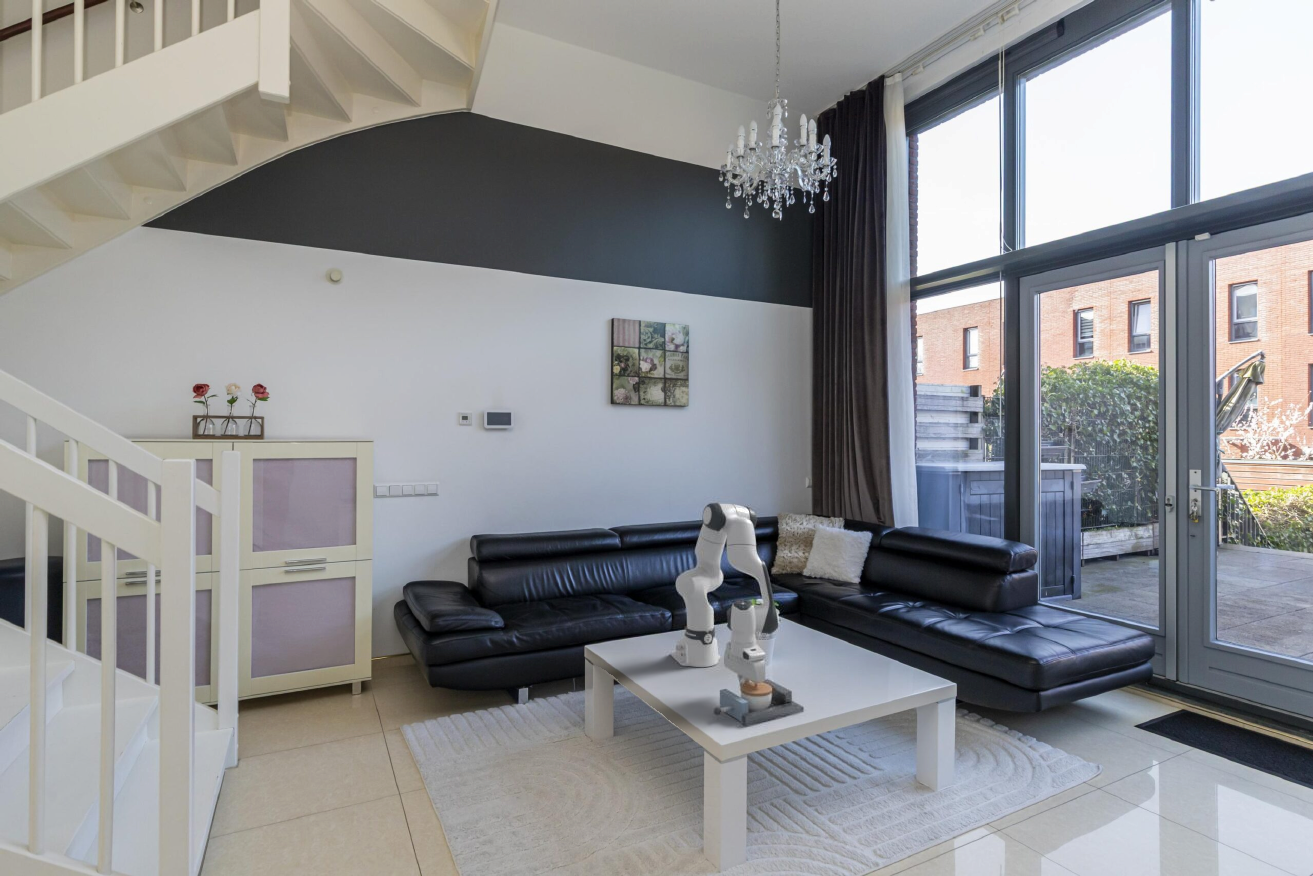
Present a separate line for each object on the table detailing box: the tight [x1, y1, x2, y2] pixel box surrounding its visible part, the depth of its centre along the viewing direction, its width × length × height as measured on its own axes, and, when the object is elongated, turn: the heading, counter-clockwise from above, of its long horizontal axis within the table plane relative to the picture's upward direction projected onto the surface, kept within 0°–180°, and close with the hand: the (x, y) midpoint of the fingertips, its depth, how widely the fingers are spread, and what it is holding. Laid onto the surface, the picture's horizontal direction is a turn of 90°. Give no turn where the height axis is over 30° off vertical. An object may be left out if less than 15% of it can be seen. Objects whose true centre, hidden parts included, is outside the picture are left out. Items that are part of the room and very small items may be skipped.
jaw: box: [713, 688, 750, 723], centre depth 218 cm, size 13×10×6 cm
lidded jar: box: [739, 681, 772, 713], centre depth 224 cm, size 11×11×9 cm
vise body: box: [741, 678, 805, 728], centre depth 223 cm, size 16×24×6 cm, turn 118°
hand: (743, 687), depth 230 cm, fingers closed
